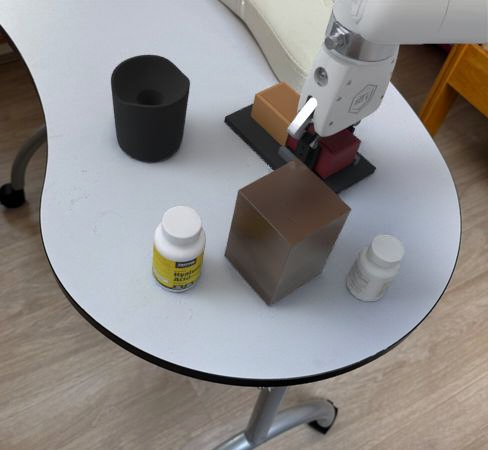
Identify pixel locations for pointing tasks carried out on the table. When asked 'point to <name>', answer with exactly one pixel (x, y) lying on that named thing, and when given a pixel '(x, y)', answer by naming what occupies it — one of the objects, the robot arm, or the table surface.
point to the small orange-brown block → (276, 110)
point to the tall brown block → (284, 230)
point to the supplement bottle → (178, 249)
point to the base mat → (292, 151)
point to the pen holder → (149, 106)
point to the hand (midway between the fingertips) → (320, 151)
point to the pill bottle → (375, 268)
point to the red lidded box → (333, 151)
